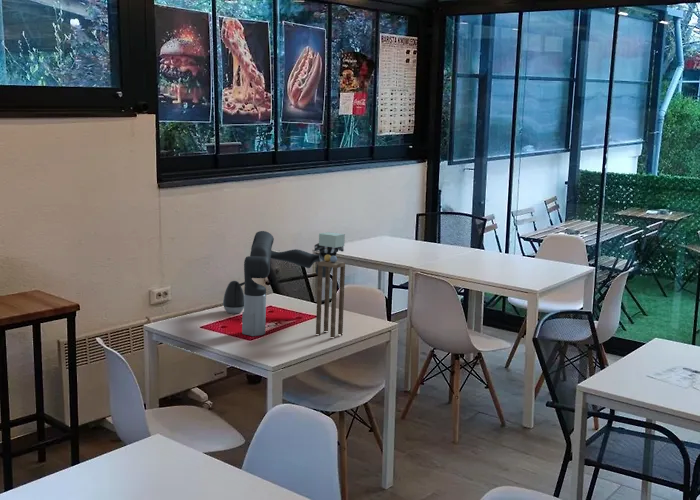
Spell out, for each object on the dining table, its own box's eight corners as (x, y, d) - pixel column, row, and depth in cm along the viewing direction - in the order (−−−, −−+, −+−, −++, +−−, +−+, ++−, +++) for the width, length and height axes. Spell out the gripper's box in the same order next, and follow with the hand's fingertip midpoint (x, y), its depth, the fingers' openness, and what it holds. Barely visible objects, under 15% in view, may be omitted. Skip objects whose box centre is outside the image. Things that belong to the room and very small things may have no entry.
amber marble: (328, 262, 331) (328, 255, 330) (322, 261, 333) (322, 254, 332) (332, 261, 333) (332, 254, 333) (327, 260, 335) (326, 253, 334)
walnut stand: (332, 339, 332) (335, 264, 327) (315, 335, 337) (318, 261, 331) (342, 335, 338) (345, 262, 332) (325, 331, 343) (327, 259, 337)
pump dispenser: (247, 314, 367) (248, 282, 364) (225, 315, 363) (226, 283, 360) (242, 309, 376) (242, 278, 373) (220, 310, 372) (221, 278, 369)
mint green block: (335, 247, 328) (335, 235, 328) (307, 243, 336) (307, 232, 336) (355, 243, 341) (356, 232, 340) (328, 239, 349) (328, 228, 348)
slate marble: (335, 261, 329) (332, 255, 329) (331, 264, 330) (327, 258, 331) (339, 259, 331) (336, 253, 331) (335, 262, 333) (331, 256, 333)
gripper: (312, 246, 355) (314, 232, 339) (342, 247, 357) (346, 233, 341) (312, 262, 353) (314, 248, 337) (342, 262, 354) (346, 249, 338)
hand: (330, 240), depth 339 cm, fingers closed on mint green block
